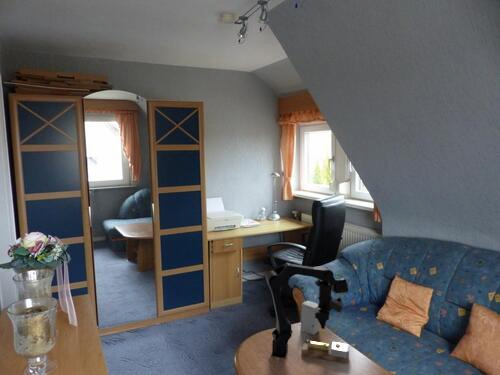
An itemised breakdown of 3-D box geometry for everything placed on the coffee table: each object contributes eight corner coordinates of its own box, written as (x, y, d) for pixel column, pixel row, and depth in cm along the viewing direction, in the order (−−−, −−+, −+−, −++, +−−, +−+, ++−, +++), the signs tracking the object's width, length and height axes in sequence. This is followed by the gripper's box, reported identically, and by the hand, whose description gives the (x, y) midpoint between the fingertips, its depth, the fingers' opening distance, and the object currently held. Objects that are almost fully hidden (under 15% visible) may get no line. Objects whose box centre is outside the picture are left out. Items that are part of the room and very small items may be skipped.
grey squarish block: (331, 355, 166) (331, 347, 166) (332, 347, 172) (332, 340, 172) (347, 358, 164) (347, 350, 163) (348, 350, 170) (348, 343, 169)
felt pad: (318, 349, 176) (318, 349, 176) (320, 342, 182) (320, 341, 182) (335, 352, 173) (335, 352, 173) (337, 345, 180) (337, 344, 180)
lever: (304, 347, 172) (304, 341, 171) (305, 344, 174) (305, 338, 174) (328, 351, 168) (328, 345, 168) (328, 348, 171) (329, 342, 170)
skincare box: (300, 330, 194) (300, 303, 192) (306, 326, 199) (306, 299, 197) (314, 335, 189) (315, 307, 187) (320, 331, 194) (320, 303, 192)
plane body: (301, 355, 171) (301, 349, 171) (303, 349, 176) (303, 343, 176) (348, 364, 164) (348, 357, 164) (348, 357, 170) (349, 351, 169)
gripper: (340, 304, 162) (339, 338, 163) (344, 288, 179) (343, 319, 181) (315, 300, 165) (314, 333, 167) (321, 285, 183) (320, 315, 185)
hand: (324, 325), depth 175 cm, fingers open, 7 cm apart
